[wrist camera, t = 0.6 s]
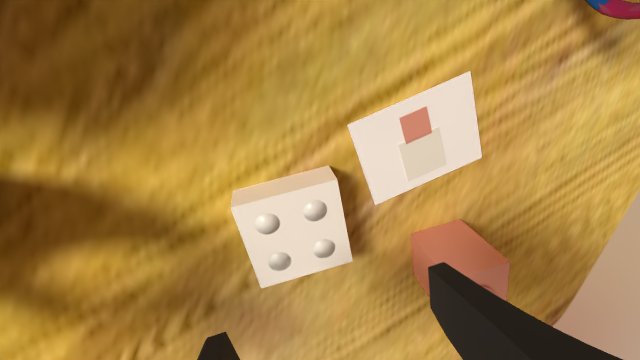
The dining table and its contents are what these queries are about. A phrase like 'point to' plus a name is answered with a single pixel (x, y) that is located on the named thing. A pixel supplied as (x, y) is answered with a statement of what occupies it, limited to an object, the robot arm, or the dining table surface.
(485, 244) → the red brick
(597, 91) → the dining table surface
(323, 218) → the base brick
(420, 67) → the dining table surface
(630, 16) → the mug
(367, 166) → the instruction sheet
